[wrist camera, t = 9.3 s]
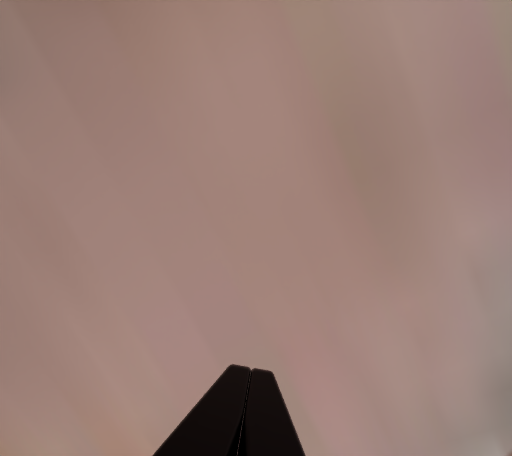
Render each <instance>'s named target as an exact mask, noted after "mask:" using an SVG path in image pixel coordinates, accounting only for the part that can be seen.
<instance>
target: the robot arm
mask: <svg viewBox="0 0 512 456" xmlns="http://www.w3.org/2000/svg"><path fill="white" fill-rule="evenodd" d="M250 373H251V375H250ZM249 379H250V381H249ZM248 386H249V387H248ZM247 392H248V393H247ZM246 398H247V399H246ZM245 404H246V405H245ZM244 410H245V411H244ZM243 416H244V417H243ZM242 422H243V423H242ZM241 428H242V429H241ZM240 434H241V435H240ZM239 440H240V441H239ZM238 446H239V447H238ZM237 452H238V453H237ZM153 456H305V453H304V451H303V448H302V445H301V443H300V440H299V438H298V435H297V433H296V430H295V428H294V425H293V422H292V420H291V417H290V415H289V412H288V410H287V407H286V404H285V402H284V399H283V397H282V394H281V392H280V389H279V387H278V384H277V381H276V379H275V376H274V374H273V373H272V372H271V371H268V370H263V369H257V368H254V369H252V370H251V369H250V368H249V367H246V366H240V365H235V364H232V365H230V366H229V367H228V368H227V369H226V370H225V371H224V372H223V374H222V375H221V376H220V377H219V378H218V379H217V381H216V382H215V383H214V384H213V385H212V386H211V388H210V389H209V390H208V391H207V392H206V393H205V395H204V396H203V397H202V398H201V399H200V400H199V402H198V403H197V404H196V405H195V406H194V407H193V409H192V410H191V411H190V412H189V413H188V415H187V416H186V417H185V418H184V419H183V420H182V422H181V423H180V424H179V425H178V426H177V427H176V429H175V430H174V431H173V432H172V433H171V434H170V436H169V437H168V438H167V439H166V440H165V441H164V443H163V444H162V445H161V446H160V447H159V449H158V450H157V451H156V452H155V453H154V454H153Z"/></svg>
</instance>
